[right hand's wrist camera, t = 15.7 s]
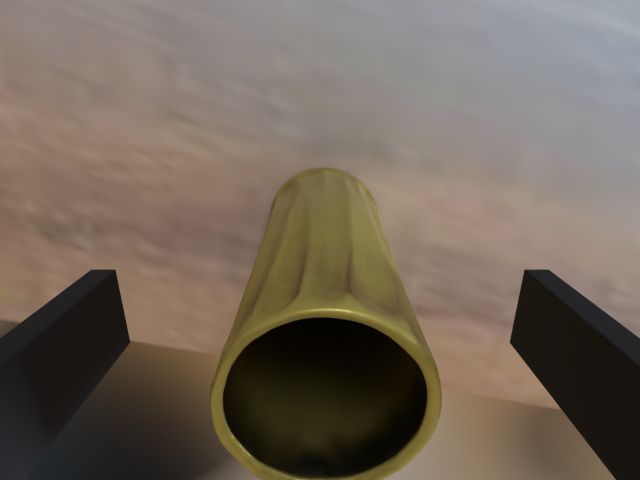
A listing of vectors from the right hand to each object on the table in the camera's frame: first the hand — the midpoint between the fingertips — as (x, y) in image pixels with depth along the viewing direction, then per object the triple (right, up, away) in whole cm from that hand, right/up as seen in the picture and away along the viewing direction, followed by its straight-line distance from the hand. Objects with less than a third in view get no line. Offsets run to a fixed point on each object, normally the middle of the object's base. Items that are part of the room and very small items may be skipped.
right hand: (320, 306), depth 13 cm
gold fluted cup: (0, +3, +9) cm, 10 cm away
